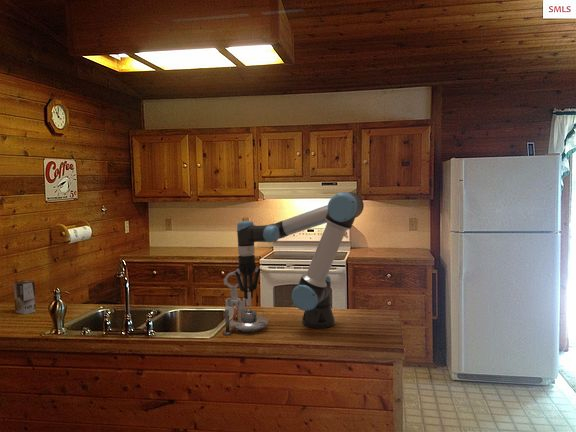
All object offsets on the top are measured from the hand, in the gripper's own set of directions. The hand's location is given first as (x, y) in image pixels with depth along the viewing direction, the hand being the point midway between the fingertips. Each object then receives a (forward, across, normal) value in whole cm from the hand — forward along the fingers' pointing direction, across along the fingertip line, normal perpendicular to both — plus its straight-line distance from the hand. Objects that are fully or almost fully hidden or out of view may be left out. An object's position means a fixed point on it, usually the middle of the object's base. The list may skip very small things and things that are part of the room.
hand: (248, 305), depth 219 cm
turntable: (+7, -2, -5) cm, 9 cm away
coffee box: (+6, -96, +79) cm, 125 cm away
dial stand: (+9, -13, -7) cm, 17 cm away
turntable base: (+10, -2, -5) cm, 11 cm away
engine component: (+9, +2, +27) cm, 29 cm away
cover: (+6, -2, -5) cm, 8 cm away
